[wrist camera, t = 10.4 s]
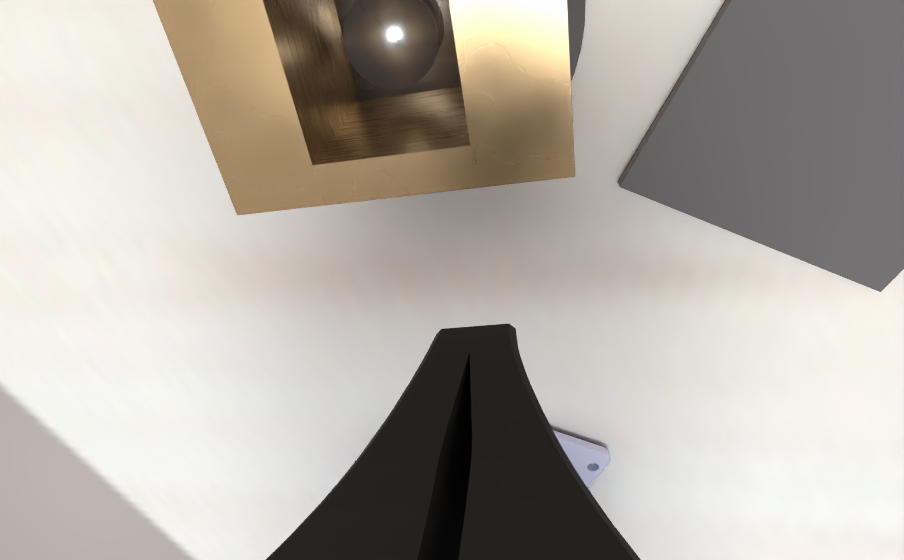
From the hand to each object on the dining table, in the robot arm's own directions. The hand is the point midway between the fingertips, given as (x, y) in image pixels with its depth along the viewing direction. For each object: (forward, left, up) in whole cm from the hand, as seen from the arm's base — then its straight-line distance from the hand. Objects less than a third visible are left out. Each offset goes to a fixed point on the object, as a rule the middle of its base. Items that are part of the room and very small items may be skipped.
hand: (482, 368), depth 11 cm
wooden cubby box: (+3, +4, -9) cm, 10 cm away
